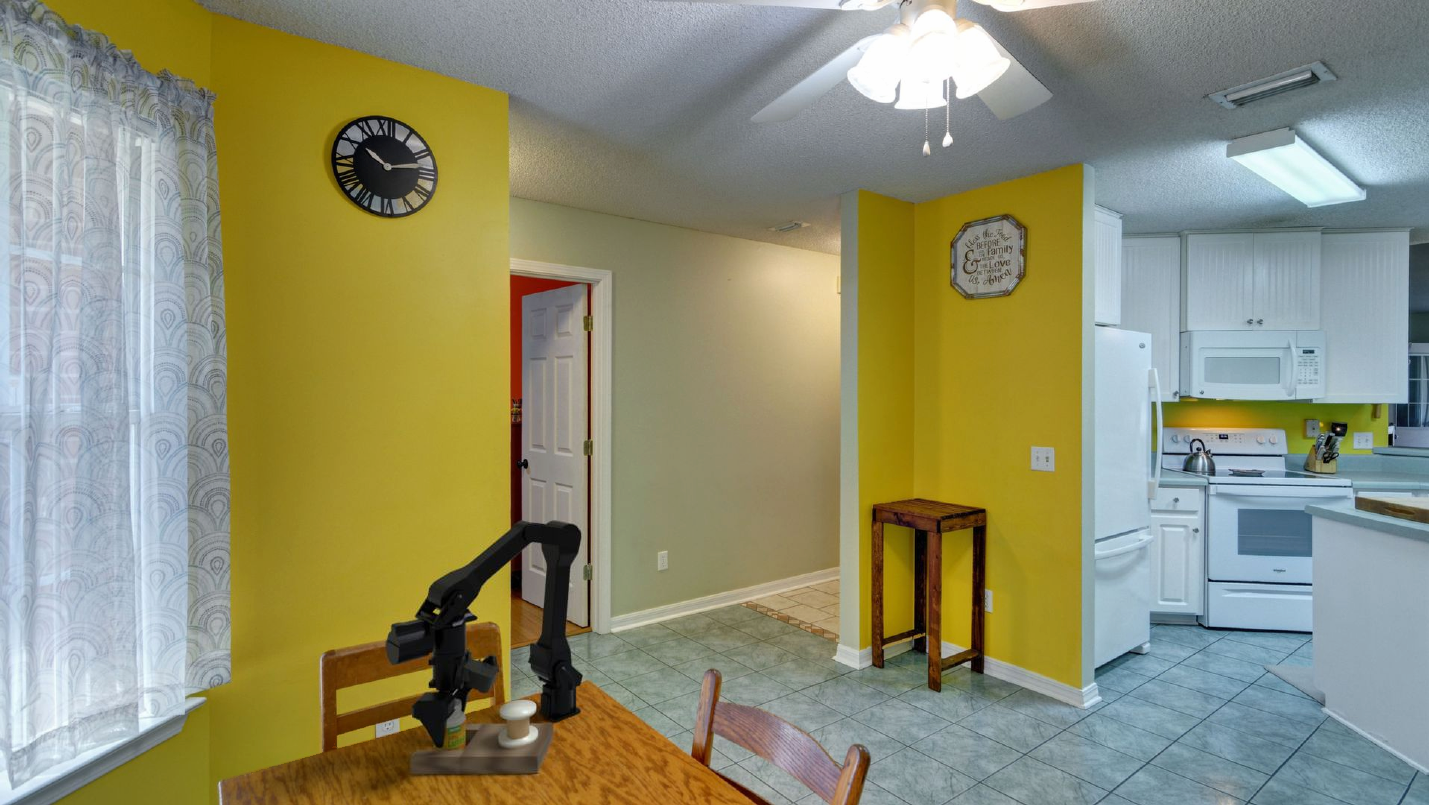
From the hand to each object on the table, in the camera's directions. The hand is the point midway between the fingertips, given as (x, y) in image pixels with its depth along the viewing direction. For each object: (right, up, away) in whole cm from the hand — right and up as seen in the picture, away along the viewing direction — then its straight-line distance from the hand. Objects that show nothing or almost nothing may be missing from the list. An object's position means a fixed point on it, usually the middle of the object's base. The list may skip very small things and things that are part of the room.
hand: (449, 734), depth 124 cm
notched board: (+6, -4, 0) cm, 8 cm away
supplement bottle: (0, -4, 0) cm, 4 cm away
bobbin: (+12, -1, 0) cm, 13 cm away
